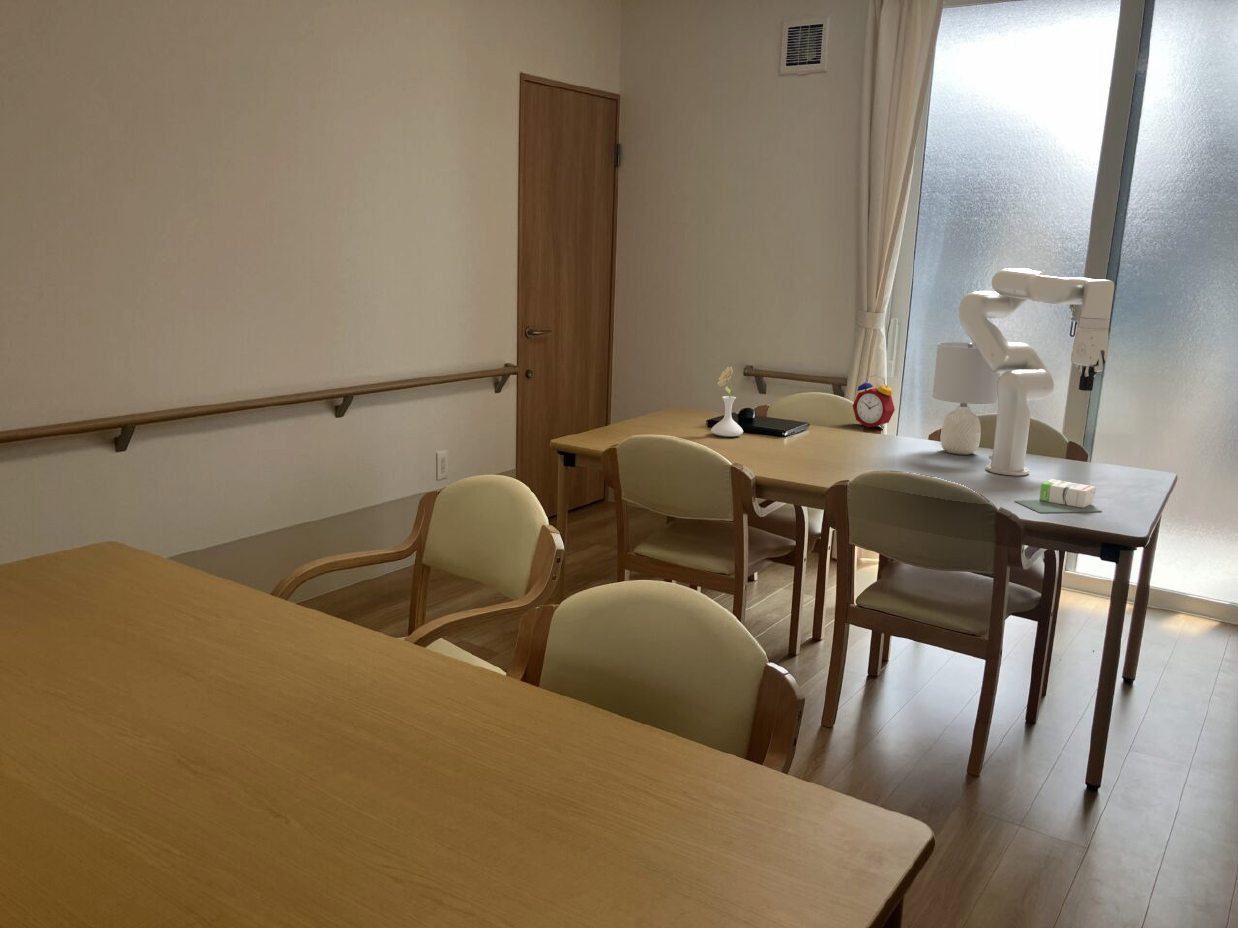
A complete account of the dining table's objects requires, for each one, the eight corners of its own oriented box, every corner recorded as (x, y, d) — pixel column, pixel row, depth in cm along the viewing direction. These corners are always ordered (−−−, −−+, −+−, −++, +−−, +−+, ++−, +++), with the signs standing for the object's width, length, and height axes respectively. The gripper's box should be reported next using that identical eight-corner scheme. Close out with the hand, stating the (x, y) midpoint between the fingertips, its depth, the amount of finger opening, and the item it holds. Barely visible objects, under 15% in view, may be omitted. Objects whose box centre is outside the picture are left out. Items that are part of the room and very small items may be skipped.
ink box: (1038, 500, 272) (1083, 509, 264) (1040, 483, 270) (1085, 491, 263) (1050, 495, 278) (1094, 503, 270) (1052, 478, 277) (1096, 486, 269)
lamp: (1003, 457, 329) (1016, 346, 321) (953, 460, 322) (965, 346, 314) (963, 445, 347) (974, 340, 339) (914, 447, 340) (925, 340, 332)
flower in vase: (711, 431, 359) (715, 362, 353) (743, 433, 357) (747, 364, 352) (709, 438, 346) (713, 367, 340) (742, 440, 344) (746, 368, 339)
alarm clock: (850, 424, 381) (854, 373, 377) (863, 422, 387) (867, 371, 383) (884, 430, 371) (888, 377, 366) (896, 428, 377) (901, 376, 372)
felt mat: (1014, 501, 271) (1014, 500, 271) (1073, 500, 274) (1073, 499, 274) (1039, 513, 259) (1039, 512, 259) (1101, 512, 263) (1101, 510, 263)
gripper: (1065, 322, 282) (1057, 386, 286) (1099, 326, 268) (1090, 394, 272) (1089, 322, 283) (1080, 386, 287) (1124, 327, 269) (1114, 394, 273)
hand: (1085, 390), depth 280 cm, fingers closed
